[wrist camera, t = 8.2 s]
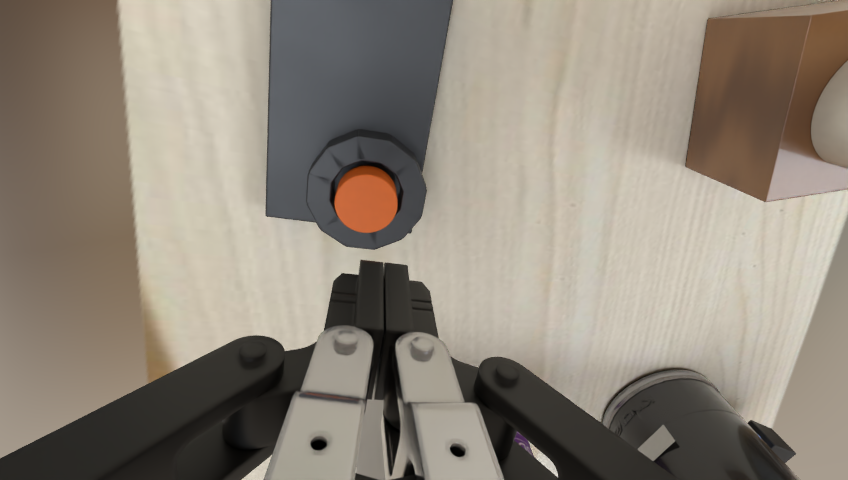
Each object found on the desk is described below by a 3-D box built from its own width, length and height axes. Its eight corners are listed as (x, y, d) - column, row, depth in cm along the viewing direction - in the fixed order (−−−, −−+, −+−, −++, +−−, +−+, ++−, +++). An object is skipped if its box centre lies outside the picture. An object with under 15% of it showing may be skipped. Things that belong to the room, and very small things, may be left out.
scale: (411, 231, 26) (414, 254, 23) (270, 214, 25) (257, 237, 22) (461, -50, 20) (473, -62, 17) (279, -92, 19) (263, -112, 16)
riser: (812, 147, 26) (924, 177, 21) (685, 166, 26) (765, 202, 21) (854, -2, 23) (1001, -12, 17) (707, 18, 23) (811, 15, 17)
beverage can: (440, 385, 32) (472, 567, 21) (390, 419, 33) (397, 610, 22) (396, 347, 30) (407, 527, 19) (345, 385, 31) (329, 576, 20)
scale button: (392, 224, 23) (392, 236, 22) (334, 217, 22) (331, 229, 21) (400, 169, 22) (402, 179, 20) (339, 161, 21) (337, 170, 20)
